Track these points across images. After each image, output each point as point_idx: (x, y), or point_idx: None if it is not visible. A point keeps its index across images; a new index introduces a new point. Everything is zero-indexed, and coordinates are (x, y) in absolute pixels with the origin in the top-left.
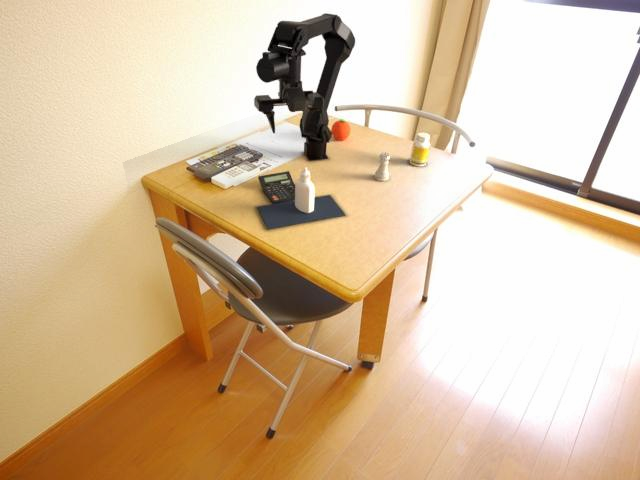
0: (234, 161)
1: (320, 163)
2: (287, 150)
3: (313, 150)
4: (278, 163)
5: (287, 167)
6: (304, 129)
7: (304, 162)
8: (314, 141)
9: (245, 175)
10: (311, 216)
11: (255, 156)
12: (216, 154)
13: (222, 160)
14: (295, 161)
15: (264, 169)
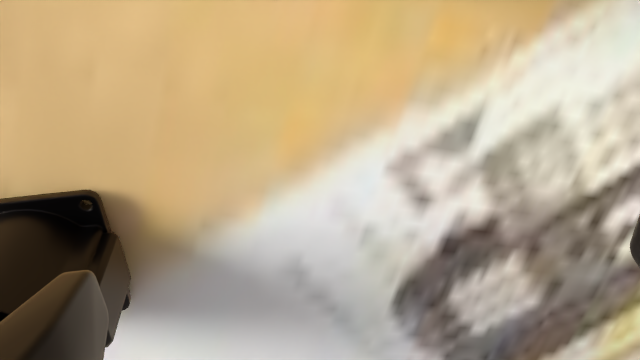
0: (571, 244)
1: (9, 146)
2: (232, 337)
3: (42, 255)
4: (334, 189)
5: (288, 125)
6: (74, 282)
7: (143, 179)
8: (2, 317)
9: (597, 62)
10: None
11: (440, 286)
12: (616, 320)
13: (622, 260)
14: (209, 201)
15: (450, 123)
